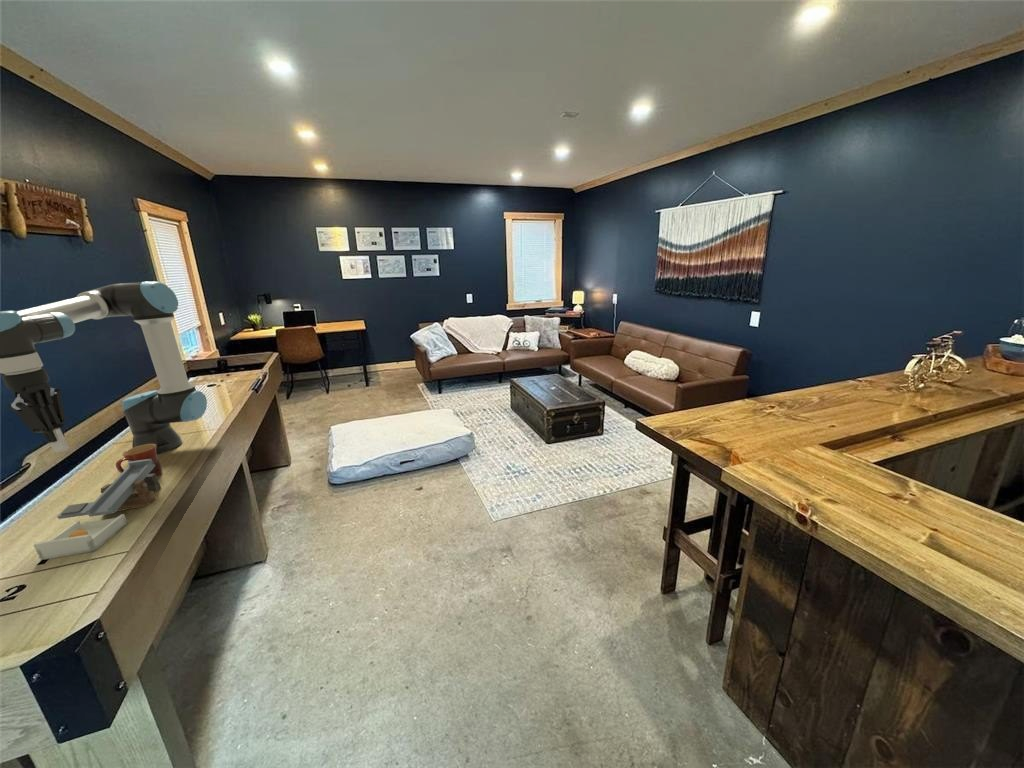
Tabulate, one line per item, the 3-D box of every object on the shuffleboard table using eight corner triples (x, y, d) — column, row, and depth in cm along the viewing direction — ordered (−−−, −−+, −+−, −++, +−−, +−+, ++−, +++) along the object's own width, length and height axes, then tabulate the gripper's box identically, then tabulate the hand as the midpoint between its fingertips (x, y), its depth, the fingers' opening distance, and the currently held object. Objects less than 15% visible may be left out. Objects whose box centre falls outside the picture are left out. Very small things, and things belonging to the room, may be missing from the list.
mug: (152, 469, 143) (143, 443, 140) (172, 470, 141) (162, 443, 138) (115, 487, 132) (103, 459, 129) (135, 488, 130) (124, 460, 127)
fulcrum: (132, 491, 128) (124, 471, 126) (171, 486, 130) (164, 465, 128) (104, 512, 117) (95, 490, 115) (148, 506, 119) (139, 484, 117)
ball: (65, 532, 101) (64, 546, 101) (80, 529, 102) (80, 543, 101) (77, 529, 104) (77, 543, 104) (92, 527, 105) (92, 540, 104)
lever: (105, 472, 125) (100, 465, 124) (155, 465, 128) (151, 458, 126) (56, 521, 108) (49, 514, 107) (114, 513, 111) (108, 505, 109)
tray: (80, 530, 109) (73, 516, 108) (127, 523, 111) (122, 509, 110) (41, 559, 98) (33, 544, 97) (94, 551, 100) (87, 536, 99)
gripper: (29, 366, 110) (65, 442, 117) (-21, 380, 98) (24, 464, 105) (60, 362, 111) (95, 438, 119) (16, 376, 99) (57, 459, 107)
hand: (61, 450), depth 112 cm, fingers closed
